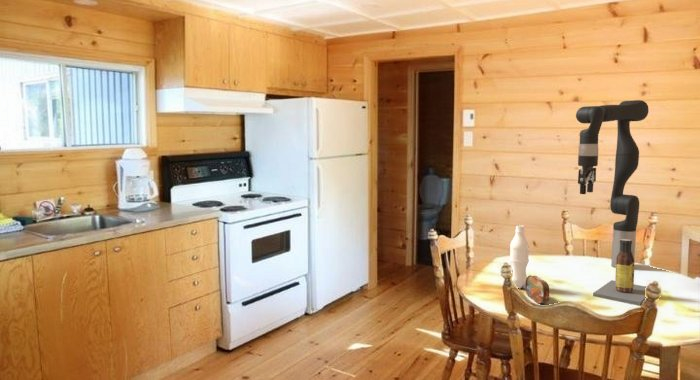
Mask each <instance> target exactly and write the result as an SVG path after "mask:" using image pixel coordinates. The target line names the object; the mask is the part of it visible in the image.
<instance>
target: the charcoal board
mask: <svg viewBox="0 0 700 380" xmlns="http://www.w3.org/2000/svg"><path fill="white" fill-rule="evenodd" d="M646 287H647V286H645V285H641V284H635V283H634V287H633V291H632V292H629V293H628V292H620V291H617V290H616V286H615V280H609V281H608V282H607V283H606V284H604V285H603V286H601V287H599V288H598V289H597V290H595V291H594V292H593V293H592V297H596V298H600V299H606V300H610V301H616V302H620V303H624V304H625V303H626V304H630V305H636V306H639V307H640V306H641V305H643V304H644V302H645V301H644V300H645V298H646V297H645V288H646ZM643 301H644V302H643Z"/></svg>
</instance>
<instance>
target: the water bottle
mask: <svg viewBox="0 0 700 380" xmlns="http://www.w3.org/2000/svg"><path fill="white" fill-rule="evenodd" d="M525 232H526V231H525V226H524V225H520V224H519V225H516V226H515V235H514V236H513V239H511V242H510V245H509V246H510V247H509V248H510V249H509V252H510V253H509V255H510V257H509V261H510V264H511V270H512V269H513V277H512V280H513V282H514V283H515V284H516V286H517V287H518V288H519V289H518V290H520V289H526V287H525V284H526V279H527V277H528V276H527V267H528V265H529V261H530V260H529V253H530V252H529V251H530V250H529V248H530V244H529V242H528V240H527V238H526V236H525Z"/></svg>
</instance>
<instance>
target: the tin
mask: <svg viewBox="0 0 700 380" xmlns="http://www.w3.org/2000/svg"><path fill="white" fill-rule="evenodd" d="M525 287H526V288H525V292H526V295H527V297H528V298H530V299H531V300H533V301H534V302H535V303H537V304H547V303H548V302H549V299H550V291H551V290H550V285H549V284H548V282H547V281H546V280H544V279H542V278H541V277H539V276H537V275H531V274H530V275H529V274H528V276H527V279H526V284H525Z"/></svg>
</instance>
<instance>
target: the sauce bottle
mask: <svg viewBox="0 0 700 380" xmlns="http://www.w3.org/2000/svg"><path fill="white" fill-rule="evenodd" d="M631 244H632V240H630V239H620V252H619V254H618V255H617V258H616V268H615V280H614V281H615V286H616V290H617V291H620V292H628V293H629V292H632V291H633V287H634V284H635V259H634V258H633V255H632V252H631Z"/></svg>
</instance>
